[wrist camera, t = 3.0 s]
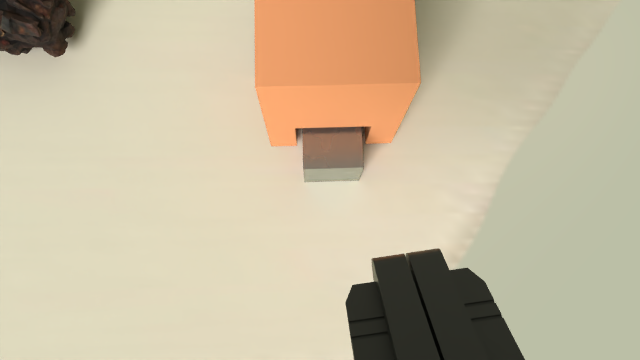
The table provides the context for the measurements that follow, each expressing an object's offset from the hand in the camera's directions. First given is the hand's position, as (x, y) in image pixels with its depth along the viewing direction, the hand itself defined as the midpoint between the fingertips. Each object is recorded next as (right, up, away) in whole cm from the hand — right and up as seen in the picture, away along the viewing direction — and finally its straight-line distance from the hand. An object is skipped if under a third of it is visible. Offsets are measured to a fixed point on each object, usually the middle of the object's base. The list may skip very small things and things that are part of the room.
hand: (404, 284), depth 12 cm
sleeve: (-1, +6, +19) cm, 20 cm away
